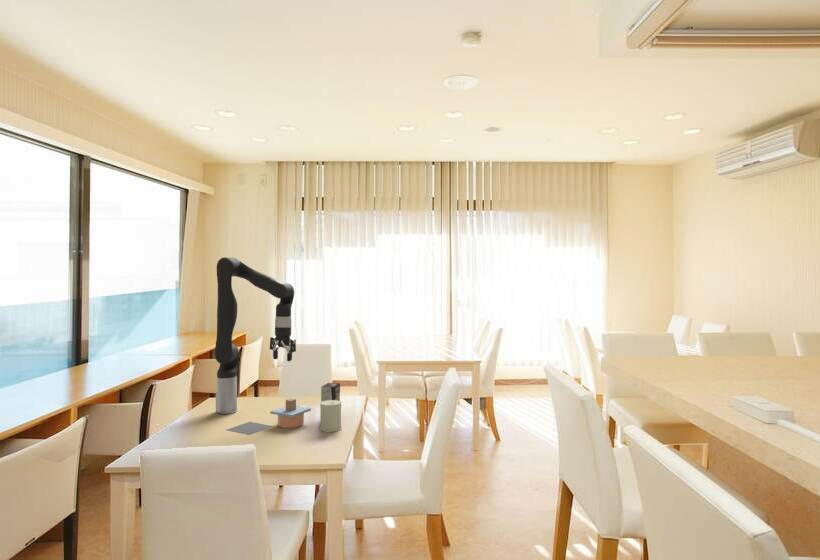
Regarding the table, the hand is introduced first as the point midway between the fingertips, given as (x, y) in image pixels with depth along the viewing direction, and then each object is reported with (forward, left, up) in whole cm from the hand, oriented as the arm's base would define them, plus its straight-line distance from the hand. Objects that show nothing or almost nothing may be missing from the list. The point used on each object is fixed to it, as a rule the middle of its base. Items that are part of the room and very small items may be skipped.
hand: (282, 360), depth 243 cm
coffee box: (+23, +8, -27) cm, 36 cm away
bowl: (+13, -9, -27) cm, 31 cm away
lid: (+13, -9, -21) cm, 26 cm away
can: (+32, -4, -27) cm, 42 cm away
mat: (+1, -21, -27) cm, 34 cm away
